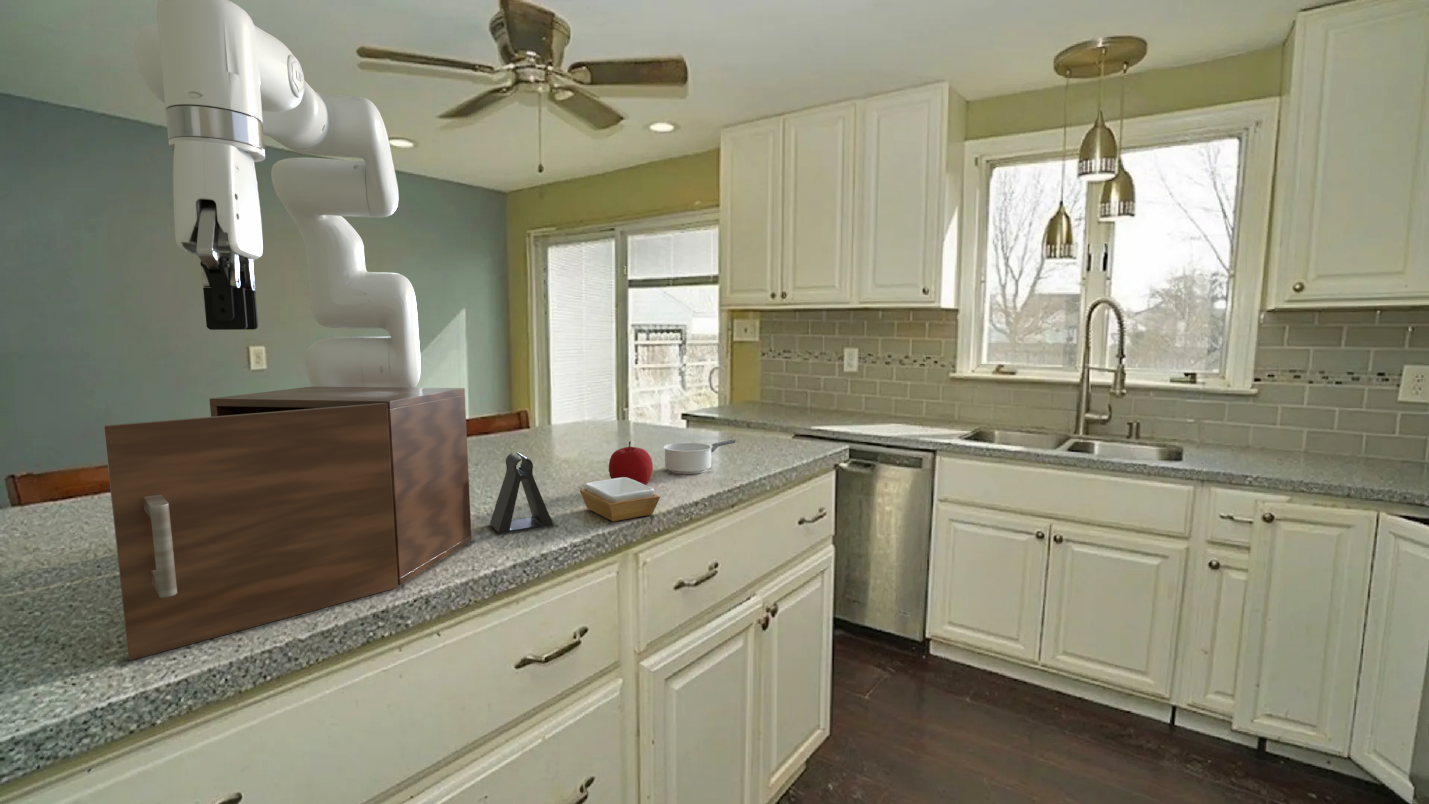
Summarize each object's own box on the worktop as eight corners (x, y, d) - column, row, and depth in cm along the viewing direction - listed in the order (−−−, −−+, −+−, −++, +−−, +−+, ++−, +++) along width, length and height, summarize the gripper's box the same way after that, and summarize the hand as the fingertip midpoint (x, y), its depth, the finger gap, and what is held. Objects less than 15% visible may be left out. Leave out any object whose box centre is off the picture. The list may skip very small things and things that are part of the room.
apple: (662, 486, 139) (661, 439, 138) (634, 496, 132) (633, 446, 131) (628, 481, 144) (627, 435, 143) (599, 490, 137) (598, 441, 136)
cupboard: (400, 585, 86) (389, 401, 84) (224, 574, 91) (209, 398, 88) (471, 541, 104) (464, 388, 101) (322, 534, 108) (311, 386, 106)
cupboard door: (415, 599, 82) (405, 406, 79) (136, 681, 63) (109, 432, 60) (395, 585, 86) (384, 402, 83) (128, 657, 67) (103, 425, 65)
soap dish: (579, 509, 122) (578, 482, 122) (627, 501, 128) (626, 475, 127) (610, 525, 112) (609, 496, 112) (660, 516, 118) (660, 487, 117)
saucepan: (749, 465, 160) (750, 442, 159) (683, 478, 147) (683, 453, 147) (718, 458, 169) (718, 436, 168) (653, 469, 156) (653, 446, 155)
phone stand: (497, 534, 108) (494, 461, 106) (489, 525, 113) (486, 455, 111) (553, 526, 112) (550, 455, 111) (542, 517, 117) (540, 450, 116)
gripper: (200, 154, 71) (215, 329, 73) (130, 107, 56) (152, 330, 58) (283, 160, 73) (295, 329, 76) (238, 117, 58) (255, 329, 60)
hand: (233, 327), depth 67 cm, fingers open, 3 cm apart
